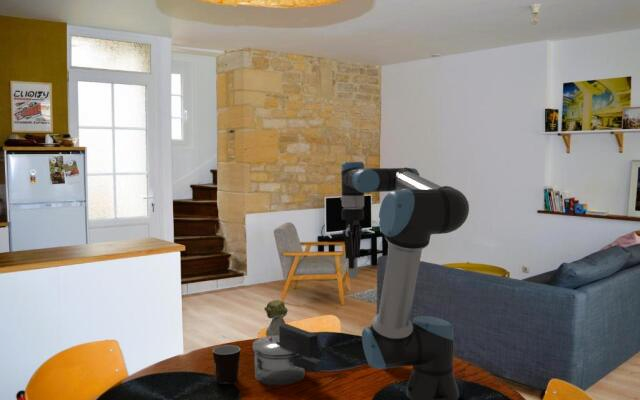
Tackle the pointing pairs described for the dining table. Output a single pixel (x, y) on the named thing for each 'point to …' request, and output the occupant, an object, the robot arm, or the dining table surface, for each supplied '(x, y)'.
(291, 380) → the pot
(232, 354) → the coffee mug
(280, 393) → the dining table surface
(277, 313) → the green sculpted bust
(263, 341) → the lid
